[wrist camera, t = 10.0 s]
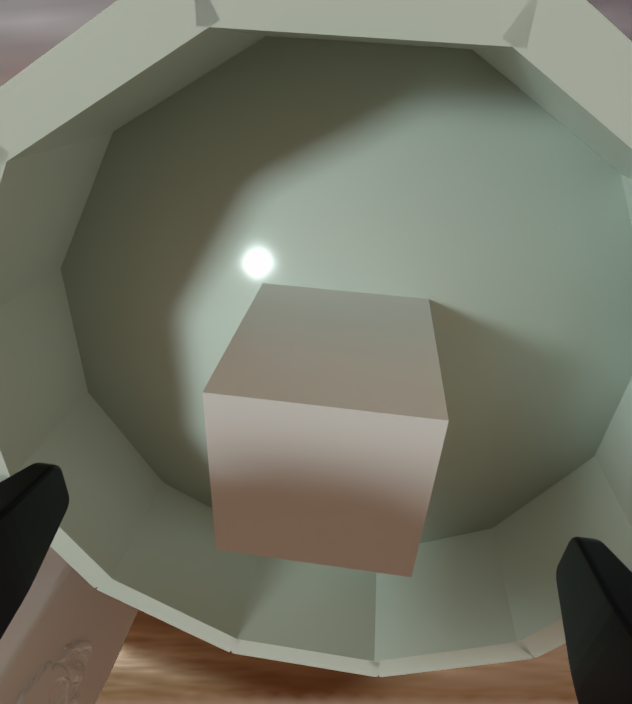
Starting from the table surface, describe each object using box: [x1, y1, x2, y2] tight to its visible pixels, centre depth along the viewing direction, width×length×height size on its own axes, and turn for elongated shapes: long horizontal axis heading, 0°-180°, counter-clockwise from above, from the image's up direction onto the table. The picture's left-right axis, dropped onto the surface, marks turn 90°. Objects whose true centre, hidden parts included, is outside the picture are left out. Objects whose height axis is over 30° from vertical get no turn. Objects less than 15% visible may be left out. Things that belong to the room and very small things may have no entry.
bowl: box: [0, 0, 632, 677], centre depth 12 cm, size 16×16×4 cm
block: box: [202, 283, 449, 577], centre depth 11 cm, size 4×4×5 cm
